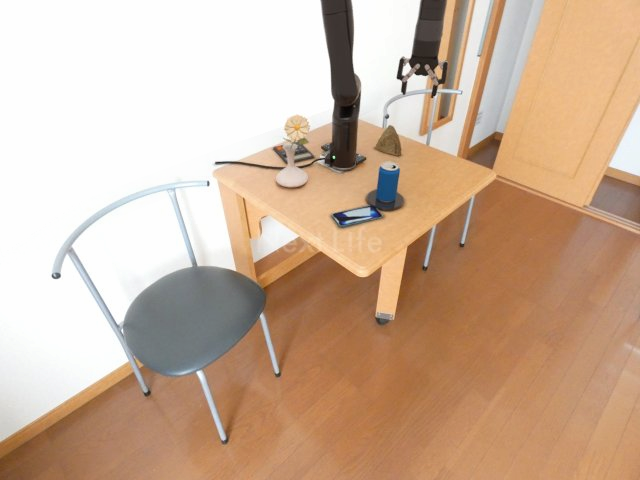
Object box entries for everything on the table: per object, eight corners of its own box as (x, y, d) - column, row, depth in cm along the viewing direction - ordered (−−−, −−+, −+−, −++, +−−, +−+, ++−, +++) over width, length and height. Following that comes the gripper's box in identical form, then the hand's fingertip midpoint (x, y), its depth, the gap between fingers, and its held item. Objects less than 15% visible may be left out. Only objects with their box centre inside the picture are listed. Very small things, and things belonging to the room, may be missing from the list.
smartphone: (384, 216, 116) (340, 226, 111) (383, 219, 116) (340, 229, 112) (373, 204, 121) (330, 213, 117) (372, 206, 122) (330, 216, 117)
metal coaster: (362, 207, 120) (363, 204, 120) (371, 188, 129) (371, 186, 128) (399, 214, 117) (400, 211, 117) (405, 194, 126) (406, 192, 125)
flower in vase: (270, 187, 130) (263, 117, 114) (284, 172, 138) (279, 105, 122) (305, 194, 127) (302, 123, 111) (316, 178, 135) (316, 110, 119)
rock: (409, 150, 147) (400, 136, 153) (400, 136, 141) (391, 122, 147) (386, 166, 150) (378, 152, 157) (376, 153, 144) (368, 139, 151)
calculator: (299, 141, 156) (314, 155, 146) (299, 143, 157) (314, 157, 147) (273, 146, 152) (286, 162, 142) (273, 148, 153) (287, 164, 143)
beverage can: (395, 204, 120) (400, 171, 112) (375, 202, 121) (378, 169, 113) (396, 194, 125) (401, 161, 117) (376, 192, 126) (380, 159, 118)
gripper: (400, 37, 103) (392, 97, 113) (453, 41, 99) (440, 102, 109) (404, 32, 108) (397, 89, 118) (455, 35, 104) (442, 94, 115)
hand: (418, 95), depth 114 cm, fingers open, 8 cm apart
